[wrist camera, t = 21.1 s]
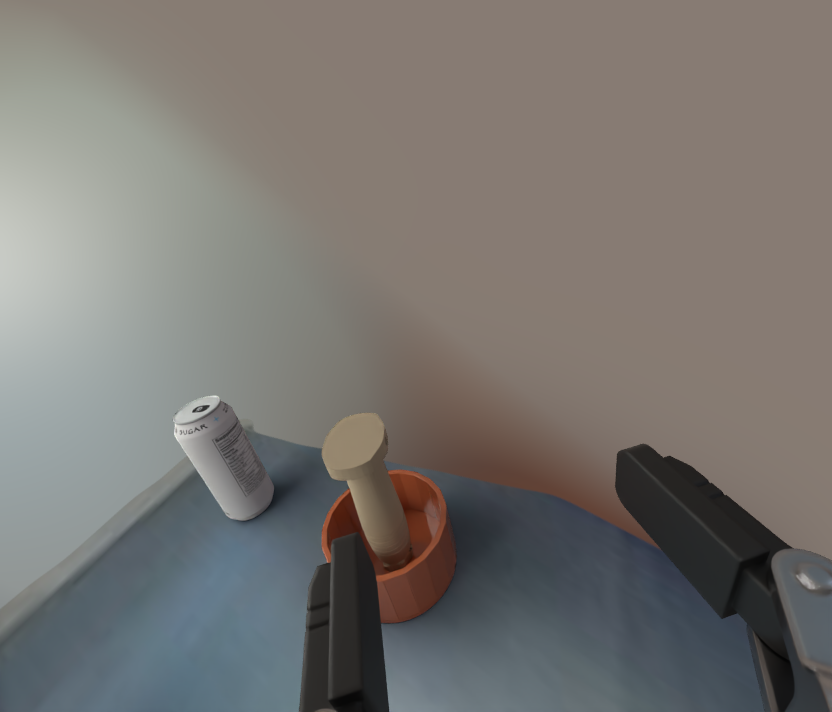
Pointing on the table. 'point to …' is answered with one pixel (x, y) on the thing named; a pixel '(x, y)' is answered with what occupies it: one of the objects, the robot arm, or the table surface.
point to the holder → (429, 537)
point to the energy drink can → (224, 457)
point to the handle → (370, 485)
